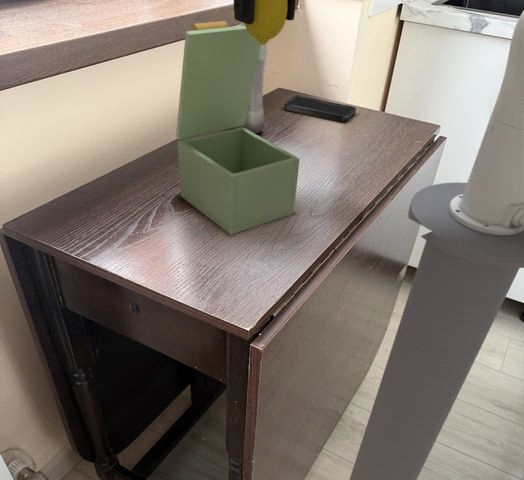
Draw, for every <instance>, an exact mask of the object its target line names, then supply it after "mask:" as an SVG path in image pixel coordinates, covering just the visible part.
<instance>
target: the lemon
mask: <svg viewBox="0 0 524 480" xmlns="http://www.w3.org/2000/svg"><path fill="white" fill-rule="evenodd" d="M286 16H287V0H255V10H254V22H253V24H245V23H244V24H245V27H246V28H247V30H248V32H249V33H250V34H251V35H252V36H253V37H255V38H256V39H257V40H258V41H259V43H260V44H261V45H265V44H266V45H267V43H269V41H270V40H272V39H274V38H275V37H277V36H278V35H279V34H280V33H281V31H282V30H283V28H284V26H285V23H286V21H287V20H286Z"/></svg>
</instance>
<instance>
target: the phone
mask: <svg viewBox="0 0 524 480" xmlns="http://www.w3.org/2000/svg"><path fill="white" fill-rule="evenodd" d="M284 110H286V111H290V112H294V113H299V114H304V115H308V116H312V117H317V118H320V119H321V118H322V119H326V120H330V121H331V120H332V121H334V122H335V121H336V122H341V123H347V122H348V121H350V120H351V119H352V118H353V117H354V116H355V115H356V113H357V112H356V111H357V107H355V106H351V105H347V104H342V103H337V102H332V101H327V100H323V99H318V98H313V97H309V96H305V95H294V96H293V97H291V98H290V99H288V100H287V101H285V102H284Z"/></svg>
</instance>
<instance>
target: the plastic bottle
mask: <svg viewBox="0 0 524 480" xmlns="http://www.w3.org/2000/svg"><path fill="white" fill-rule="evenodd" d="M239 26H245V24H244V23H243V22H240V25H239ZM267 61H268V48H267V43H266V44H265V45H261V48H260V53H259V58H258V62H257V67H256V72H255V76H254V81H253V86H252V91H251V95H250V100H249V105H248V110H247V114H246V119H245V124H244V126H239V127H235V128H233V129H236V128H241V127H243V128H245V129H247V130H249V131H251V132H252V133H254V134H256V135H257V134H259V133H260V132H262V130H263V129H264V125H265V110H264V94H263V93H264V82H265V81H264V80H265V72H266V67H267Z"/></svg>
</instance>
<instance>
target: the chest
mask: <svg viewBox="0 0 524 480" xmlns="http://www.w3.org/2000/svg"><path fill="white" fill-rule="evenodd" d="M177 154H178V155H177V156H178V172H179V173H178V175H179V190H180V197H181V198H182V199H184V200H185V201H186V202H187V203H189V204H190V205H192V206H193V207H194V208H196V210H198V211H199V212H201V213H202V214H204V215H205V216H206V217H207V218H209V219H210V220H211V221H212V222H214V223H215V224H217V226H219V227H220V228H222V229H223V230H224V231H225V232H227V233H228V234H229V235H234V234H237V233H240V232H244V231H247V230H248V229H252V228H256V227H258V226H261V225H264V224H267V223H270V222H272V221H276V220H278V219H282V218H284V217H287V216H290V215H294V213H295V204H296V196H297V195H296V194H297V187H298V186H297V185H298V177H299V169H300V168H299V167H300V158H299V157H297V156H296V155H294V154H292V153H291V152H289V151H287V150H285V149H283V148H282V147H279V146H277V145H276V144H274V143H272V142H270V141H269V140H267V139H265V138H263V137H262V136H260V135H257V133H256V134H254V133H252V132H251V131H249V130H247V129H245V128H243V127H241V128H236V129H234V128H231V129H226V130H222V131H217V132H213V133H208V134H203V135H199V136H194V137H190V138H185V139H181V140H178V141H177Z"/></svg>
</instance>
